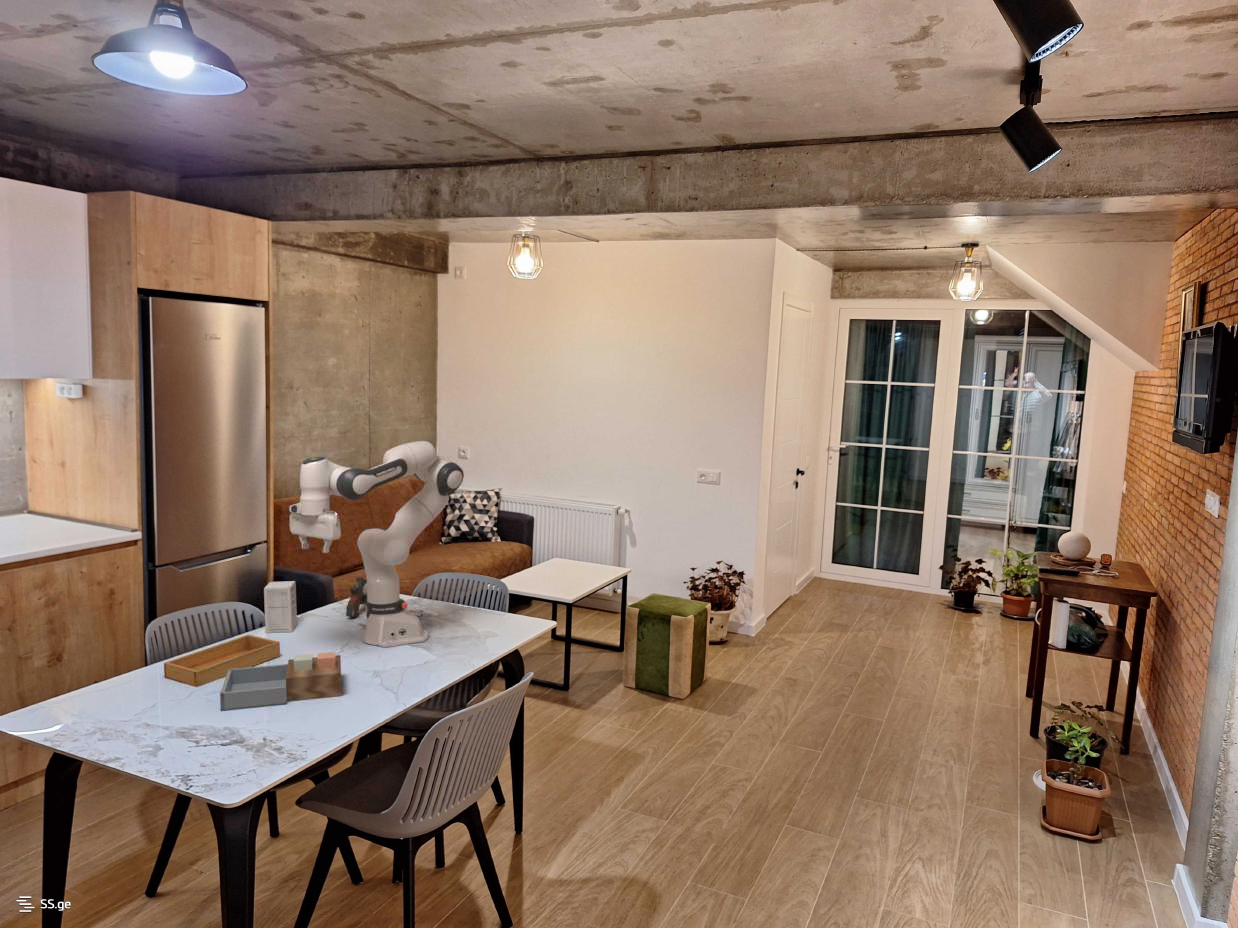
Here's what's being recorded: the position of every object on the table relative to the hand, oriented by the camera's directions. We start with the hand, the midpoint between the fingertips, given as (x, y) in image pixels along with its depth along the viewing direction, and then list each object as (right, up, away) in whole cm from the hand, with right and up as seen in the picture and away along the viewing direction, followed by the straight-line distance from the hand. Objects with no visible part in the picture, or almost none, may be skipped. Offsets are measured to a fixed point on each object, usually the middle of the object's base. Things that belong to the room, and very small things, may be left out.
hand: (315, 550), depth 267 cm
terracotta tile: (+10, -33, -17) cm, 38 cm away
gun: (-4, -31, +65) cm, 72 cm away
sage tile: (+3, -33, -19) cm, 38 cm away
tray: (-29, -38, -1) cm, 47 cm away
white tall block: (-27, -33, +39) cm, 57 cm away
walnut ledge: (+6, -40, -17) cm, 44 cm away
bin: (-9, -40, -23) cm, 47 cm away
